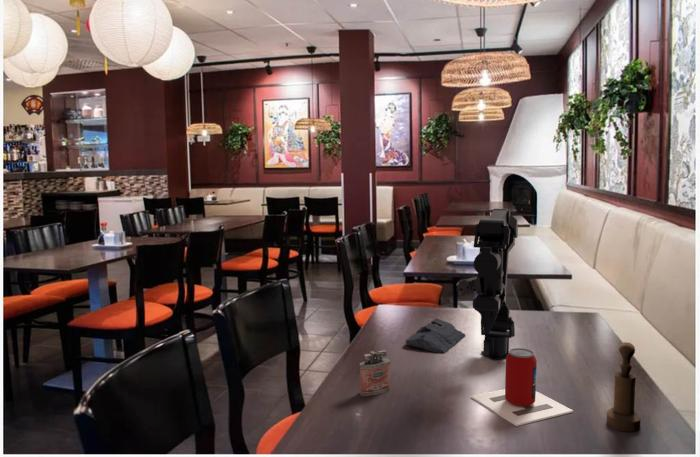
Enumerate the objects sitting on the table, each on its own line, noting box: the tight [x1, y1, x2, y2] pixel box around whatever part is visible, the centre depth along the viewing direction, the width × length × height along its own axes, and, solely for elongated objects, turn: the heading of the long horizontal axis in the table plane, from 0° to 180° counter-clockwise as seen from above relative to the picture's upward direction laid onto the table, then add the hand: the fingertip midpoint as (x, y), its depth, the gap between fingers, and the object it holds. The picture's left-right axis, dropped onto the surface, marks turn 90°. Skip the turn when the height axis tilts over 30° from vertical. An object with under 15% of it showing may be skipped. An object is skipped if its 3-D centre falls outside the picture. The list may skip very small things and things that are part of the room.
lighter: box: [359, 349, 391, 397], centre depth 139 cm, size 8×3×10 cm, turn 118°
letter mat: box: [470, 388, 574, 427], centre depth 132 cm, size 16×16×1 cm
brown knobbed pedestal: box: [606, 341, 642, 433], centre depth 121 cm, size 7×6×18 cm
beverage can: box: [504, 347, 538, 407], centre depth 131 cm, size 7×7×12 cm
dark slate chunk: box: [405, 317, 466, 354], centre depth 178 cm, size 15×22×5 cm
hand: (489, 328), depth 147 cm, fingers open, 9 cm apart
